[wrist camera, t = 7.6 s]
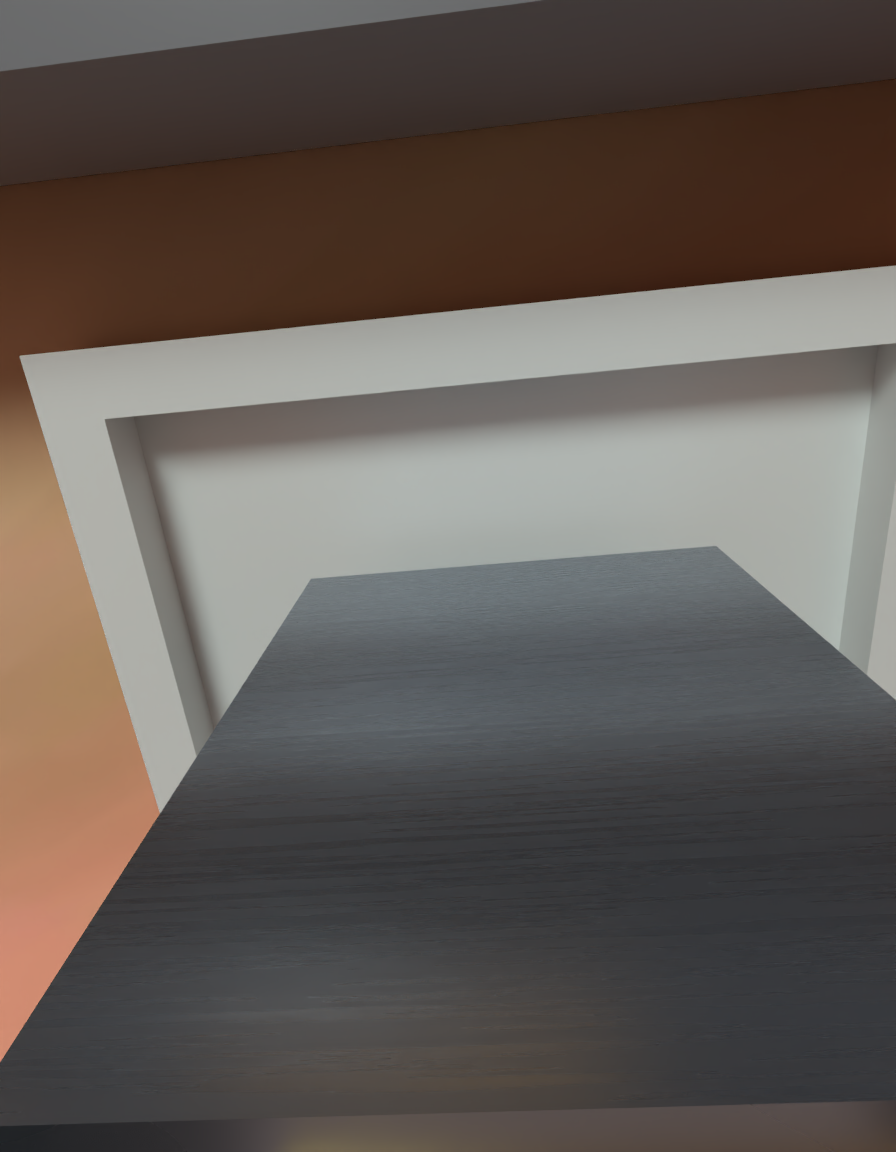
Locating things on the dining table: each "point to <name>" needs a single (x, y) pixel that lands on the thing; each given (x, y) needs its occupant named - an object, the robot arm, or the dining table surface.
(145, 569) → the tray
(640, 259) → the dining table surface
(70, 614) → the dining table surface
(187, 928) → the module
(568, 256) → the dining table surface
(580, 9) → the case
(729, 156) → the dining table surface
